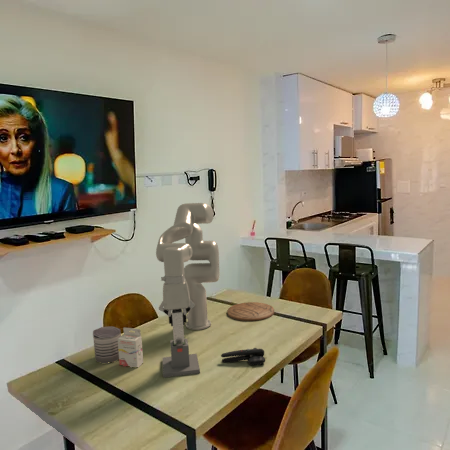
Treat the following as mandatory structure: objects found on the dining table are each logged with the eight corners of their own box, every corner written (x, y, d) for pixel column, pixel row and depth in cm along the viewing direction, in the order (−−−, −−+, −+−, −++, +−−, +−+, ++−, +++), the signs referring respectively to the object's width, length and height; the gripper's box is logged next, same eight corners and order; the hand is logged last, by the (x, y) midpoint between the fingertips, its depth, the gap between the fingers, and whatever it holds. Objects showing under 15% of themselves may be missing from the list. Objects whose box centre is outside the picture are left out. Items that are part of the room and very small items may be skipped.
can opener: (265, 358, 170) (265, 345, 169) (265, 366, 163) (264, 352, 162) (222, 358, 172) (221, 345, 171) (220, 366, 165) (219, 352, 164)
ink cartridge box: (119, 366, 168) (116, 331, 166) (125, 360, 173) (122, 326, 171) (137, 368, 165) (134, 333, 163) (143, 362, 170) (141, 328, 168)
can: (108, 350, 184) (105, 324, 182) (128, 354, 179) (126, 327, 177) (89, 361, 174) (86, 334, 172) (110, 365, 169) (107, 337, 167)
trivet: (250, 302, 240) (250, 299, 240) (284, 312, 222) (284, 308, 221) (217, 314, 223) (217, 310, 223) (251, 325, 205) (251, 322, 205)
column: (174, 348, 166) (171, 308, 164) (184, 347, 167) (182, 307, 164) (174, 352, 162) (171, 311, 160) (185, 351, 162) (182, 310, 160)
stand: (162, 360, 171) (160, 334, 169) (196, 357, 173) (195, 331, 172) (163, 377, 157) (161, 349, 156) (199, 373, 159) (198, 345, 158)
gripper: (152, 283, 155) (156, 330, 158) (197, 279, 158) (200, 325, 160) (153, 278, 163) (156, 323, 165) (195, 274, 165) (198, 319, 168)
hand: (177, 324), depth 163 cm, fingers closed on column, 4 cm apart
